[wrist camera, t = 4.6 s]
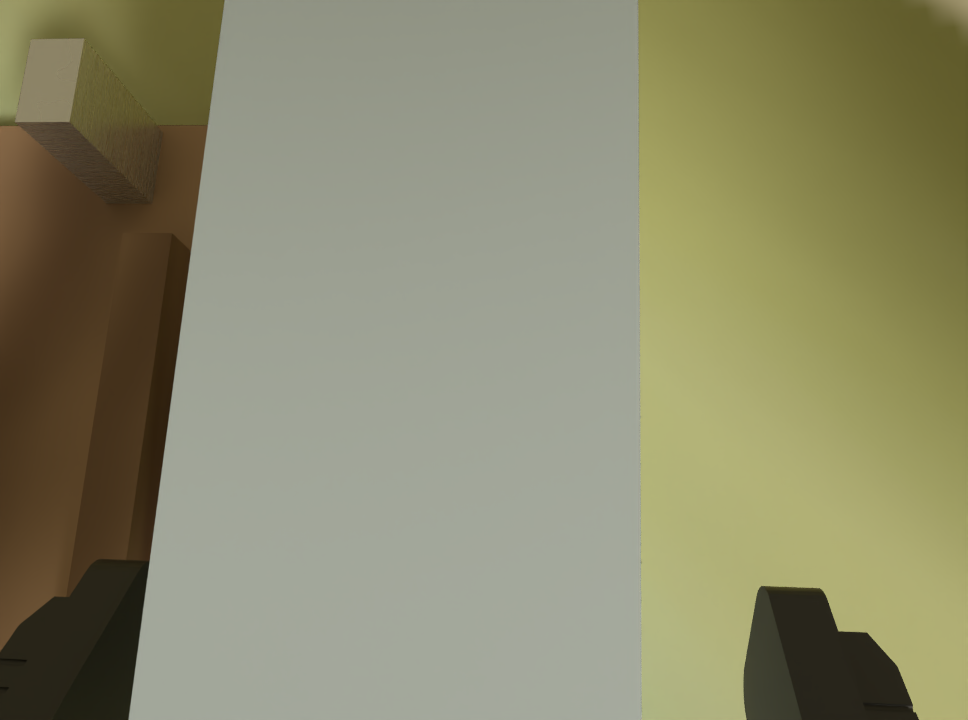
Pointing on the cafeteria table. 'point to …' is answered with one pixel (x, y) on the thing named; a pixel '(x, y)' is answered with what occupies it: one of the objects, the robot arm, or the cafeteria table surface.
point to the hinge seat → (86, 320)
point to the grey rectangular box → (407, 372)
